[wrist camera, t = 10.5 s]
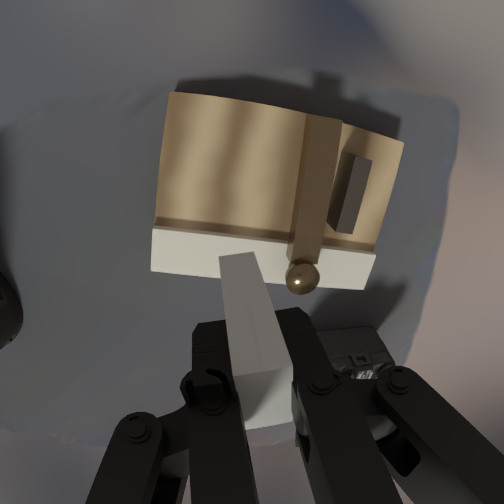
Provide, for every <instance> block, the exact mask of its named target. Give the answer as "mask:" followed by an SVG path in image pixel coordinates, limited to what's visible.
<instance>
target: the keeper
mask: <svg viewBox="0 0 504 504" xmlns="http://www.w3.org/2000/svg"><path fill="white" fill-rule="evenodd" d="M372 162H373V161H372V160H370V159H367V158H364V157H362V156H359V155H356V154H352V153H348V152H344V151H341V156H340V160H339V164H338V168H337V172H336V176H335V181H334V185H333V189H332V193H331V199H330V204H329V209H328V215H327V220H326V222H327V223H328V225H329V226H330V227H331V228H332V229H333V230H334V231H335V232H339V233H346V234H353V231H354V227H355V224H356V221H357V217H358V214H359V210H360V207H361V203H362V200H363V196H364V193H365V189H366V185H367V181H368V178H369V174H370V170H371V166H372Z"/></svg>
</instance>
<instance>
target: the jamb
mask: <svg viewBox="0 0 504 504" xmlns="http://www.w3.org/2000/svg"><path fill="white" fill-rule="evenodd" d="M287 246H288V241H286V240H278V239H270V238H262V237H254V236H245V235H237V234H228V233H220V232H211V231H202V230H193V229H184V228H175V227H166V226H157V225H154V227H153V233H152V254H151V271H156V272H165V273H174V274H184V275H193V276H203V277H213V278H221V275H220V266H219V257H218V256H225V255H232V254H239V253H246V252H253V251H254V253H255V256H256V259H257V262H258V265H259V268H260V271H261V274H262V277H263V280H264V282H266V283H278V284H286V282H285V273H286V271H287V269H288V268H289V267H290V266H291V265H292V264H290V262H289V260H288V258H287V256H286V252H287ZM375 258H376V254H375V253H374V252H372V251H364V250H357V249H349V248H342V247H334V246H326V245H321V250H320V255H319V259H318V264H314V265H315V267H316V268H317V270H318V272H319V274H320V281H319V283H318V285H317V287H328V288H342V289H357V290H364V287H365V285H366V282H367V279H368V277H369V274H370V271H371V269H372V266H373V263H374V260H375Z"/></svg>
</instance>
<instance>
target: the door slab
mask: <svg viewBox="0 0 504 504" xmlns="http://www.w3.org/2000/svg"><path fill="white" fill-rule="evenodd" d="M306 114H307V113H303V112H298V111H294V110H290V109H285V108H280V107H276V106H271V105H265V104H260V103H255V102H249V101H243V100H237V99H231V98H224V97H217V96H209V95H201V94H192V93H183V92H172V91H170V94H169V100H168V106H167V112H166V119H165V126H164V133H163V141H162V148H161V157H160V165H159V175H158V185H157V196H156V208H155V222H154V225H157V226H166V227H175V228H184V229H193V230H202V231H211V232H220V233H228V234H237V235H245V236H254V237H262V238H270V239H278V240H286V241H288V240H289V233H290V227H291V221H292V214H293V208H294V201H295V194H296V187H297V181H298V173H299V166H300V159H301V152H302V144H303V137H304V129H305V121H306ZM310 115H311V114H310ZM403 146H404V143H403V142H400V141H397V140H395V139H392V138H389V137H386V136H383V135H380V134H377V133H374V132H371V131H368V130H365V129H361V128H358V127H355V126H352V125H348V124H345V123H342V130H341V137H340V144H339V151H338V157H337V163H336V170H335V176H336V172H337V168H338V164H339V160H340V156H341V151H344V152H348V153H352V154H356V155H359V156H362V157H364V158H367V159H370V160H372V161H373V162H372V166H371V170H370V174H369V178H368V181H367V185H366V189H365V193H364V196H363V200H362V203H361V207H360V210H359V214H358V217H357V221H356V224H355V227H354V231H353V234H346V233H339V232H335V231H334V230H333V229H332V228H331V227H330V226H329V225H328V223H327V222H326V225H325V230H324V235H323V240H322V245H326V246H334V247H342V248H349V249H357V250H364V251H372V252H373V249H374V246H375V244H376V241H377V238H378V234H379V231H380V228H381V225H382V222H383V219H384V216H385V212H386V209H387V206H388V202H389V199H390V195H391V192H392V188H393V185H394V181H395V177H396V174H397V170H398V166H399V162H400V158H401V154H402V150H403ZM335 176H334V181H335ZM334 181H333V185H334ZM332 189H333V187H332Z"/></svg>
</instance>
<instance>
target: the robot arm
mask: <svg viewBox="0 0 504 504" xmlns="http://www.w3.org/2000/svg"><path fill="white" fill-rule="evenodd" d="M218 257H219V266H220V275H221V284H222V293H223V302H224V310H225V319H226V320H219V321H212V322H204V323H198V325H197V326H196V328H195V330H194V331H193V333H192V371H190V372H188V373H187V374H186V375H185V377H184V378H183V379H182V381H181V385H180V390H181V392H182V395H183V397H184V399H185V402H186V404H185V405H184V406H183V407H181V408H180V409H179V410H177V411H175V412H172V413H170V414H167V415H164V416H161V417H158V418H156V417H155V416H154V415H152V414H150V413H147V412H135V413H132V414H129V415H127V416H126V417H124V418H123V419H121V420H120V422H119V423H118V425H117V426H116V428H115V431H114V433H113V435H112V438H111V440H110V442H109V445H108V447H107V450H106V452H105V455H104V457H103V459H102V462H101V464H100V467H99V469H98V472H97V474H96V477H95V479H94V482H93V485H92V487H91V490H90V492H89V495H88V497H87V500H86V503H85V504H181V503H182V499H183V495H184V491H185V486H186V482H187V478H188V475H190V488H191V503H192V504H259V499H258V494H257V488H256V483H255V478H254V473H253V467H252V462H251V456H250V451H249V445H248V441H247V436H246V430H247V429H254V428H260V427H266V426H271V425H277V424H282V423H287V422H292V419H293V418H294V422H295V425H296V440H295V442H296V447H299V448H300V451H301V455H302V459H303V462H304V465H305V469H306V472H307V476H308V479H309V483H310V486H311V489H312V493H313V496H314V500H315V503H316V504H403V502H402V500H401V498H400V496H399V493H398V491H397V488H396V486H395V484H394V482H393V479H394V480H395V481H396V482H397V484H398V485H399V486H400V487H401V488H402V489H403V491H404V492H405V493H406V494H407V496H408V497H409V498H410V499H411V500H412V501H413V503H414V504H504V455H503V454H502V453H501V452H499V450H497V449H496V448H495V447H494V446H493V445H492V444H491V443H490V442H489V441H488V440H487V439H486V438H485V437H484V436H483V435H482V434H481V433H480V432H479V431H478V430H476V428H475V427H473V425H471V424H470V423H469V422H468V421H467V420H466V419H465V418H464V417H463V416H462V415H461V414H460V413H459V412H458V411H457V410H456V409H454V407H452V406H451V405H450V404H449V403H448V402H447V401H446V400H445V399H444V398H443V397H442V396H440V394H439V393H437V392H436V391H435V390H434V389H433V388H432V387H431V386H430V385H429V384H428V383H427V382H425V380H423V379H422V378H421V377H420V376H419V375H418V374H417V373H416V372H414V371H413V370H411V369H410V368H406V367H403V366H391V367H389V368H386V369H384V370H383V371H382V372H381V373H380V374H379V375H378V377H377V379H355V378H350V377H346V376H344V375H343V374H342V373H341V372H339V371H337V370H336V369H334V367H333V366H332V364H331V362H330V360H329V358H328V356H327V354H326V352H325V350H324V348H323V345H322V343H321V341H320V339H319V337H318V335H317V333H316V331H315V329H314V326H313V324H312V322H311V320H310V318H309V316H308V314H306V313H305V312H304V311H303V310H301V309H300V308H299V307H294V308H289V309H283V310H277V311H274V309H273V306H272V303H271V300H270V297H269V294H268V291H267V288H266V285H265V283H264V280H263V277H262V274H261V271H260V268H259V265H258V262H257V259H256V256H255V253H254V251H253V252H246V253H239V254H232V255H225V256H218ZM22 323H23V315H22V310H21V306H20V303H19V301H18V298H17V296H16V294H15V292H14V291H13V289H12V287H11V286H10V284H9V283H8V282H7V280H6V279H5V278H4V277H3V276H2V275H1V274H0V349H2V348H3V347H4V346H5V345H6V344H9V343H10V342H12V341H13V340H14V339H15V337H16V336H17V334H18V333H19V331H20V329H21V327H22ZM391 476H392V477H391ZM392 478H393V479H392Z"/></svg>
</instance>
